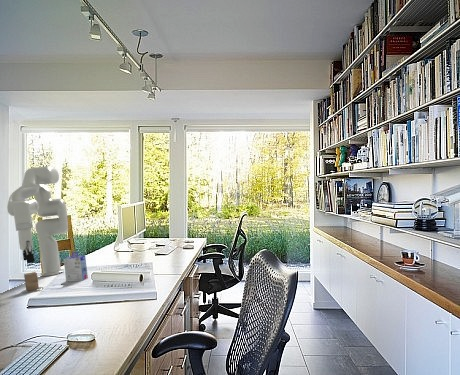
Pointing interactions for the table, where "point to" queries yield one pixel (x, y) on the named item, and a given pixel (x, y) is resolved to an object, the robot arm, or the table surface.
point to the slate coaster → (32, 291)
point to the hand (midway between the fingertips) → (29, 261)
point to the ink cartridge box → (75, 268)
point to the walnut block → (31, 281)
